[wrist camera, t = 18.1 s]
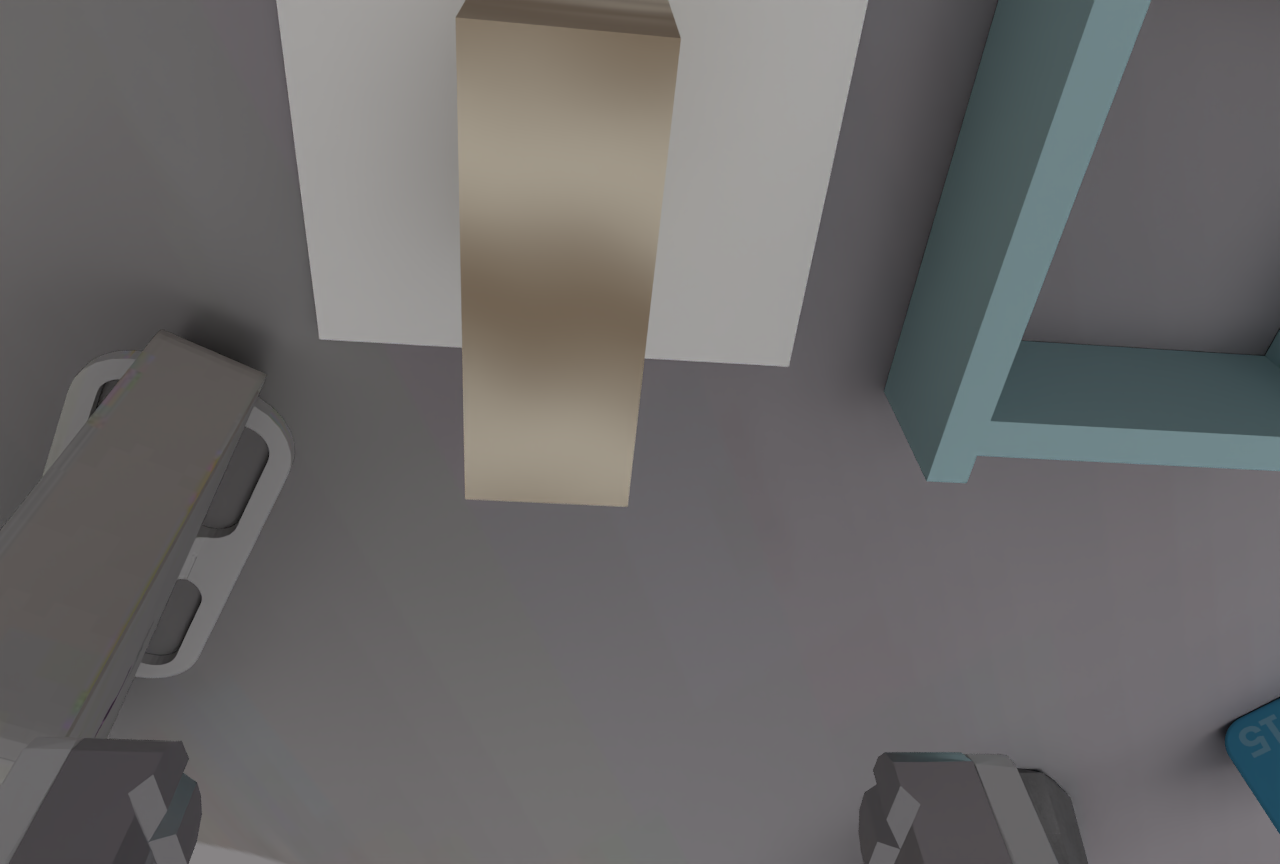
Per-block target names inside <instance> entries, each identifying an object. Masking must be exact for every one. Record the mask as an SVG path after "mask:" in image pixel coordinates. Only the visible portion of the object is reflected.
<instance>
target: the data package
mask: <svg viewBox="0 0 1280 864" xmlns="http://www.w3.org/2000/svg"><path fill="white" fill-rule="evenodd" d="M1225 747H1226V751H1227V753H1228V755H1229V757H1230V758H1231V760H1232V761H1233V763H1234V765H1235V766H1236V768H1237V769H1238V771H1239V772H1240V774H1241V775H1242V777H1243V778H1244V780H1245V781H1246V783H1247V785H1248V786H1249V788H1250V789H1251V791H1252V792H1253V794H1254V795H1255V797H1256V798H1257V800H1258V801H1259V803H1260V805H1261V806H1262V808H1263V809H1264V811H1265V812H1266V814H1267V815H1268V817H1269V818H1270V820H1271V821H1272V823H1273V825H1274V826H1275V828H1276V829H1277V831H1278V832H1279V834H1280V698H1279V699H1277V700H1275V701H1273V702H1271V703H1269V704H1267V705H1265V706H1263V707H1261V708H1259V709H1257V710H1255V711H1253V712H1251V713H1249V714H1247V715H1245V716H1243V717H1241V718H1239V719H1237V720H1236V721H1235V722H1233V723H1232V724H1231V726H1230V727H1229V729H1228V730H1227V733H1226V737H1225Z"/></svg>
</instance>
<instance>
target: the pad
mask: <svg viewBox="0 0 1280 864" xmlns="http://www.w3.org/2000/svg"><path fill="white" fill-rule="evenodd" d="M668 1H669V4H670V7H671V10H672V13H673V16H674V19H675V22H676V25H677V28H678V31H679V34H680V37H681V43H680V51H679V60H678V69H677V78H676V87H675V95H674V104H673V113H672V122H671V130H670V139H669V148H668V157H667V166H666V174H665V183H664V192H663V201H662V209H661V218H660V227H659V236H658V244H657V253H656V262H655V271H654V280H653V288H652V297H651V306H650V315H649V323H648V332H647V341H646V350H645V358H647V359H664V360H682V361H699V362H716V363H733V364H750V365H767V366H784V367H789V363H790V358H791V354H792V349H793V345H794V340H795V335H796V331H797V326H798V322H799V317H800V312H801V308H802V303H803V299H804V294H805V289H806V285H807V280H808V276H809V271H810V266H811V262H812V257H813V252H814V248H815V243H816V239H817V234H818V229H819V225H820V220H821V216H822V211H823V206H824V202H825V197H826V193H827V188H828V183H829V179H830V174H831V170H832V165H833V160H834V156H835V151H836V147H837V142H838V137H839V133H840V128H841V124H842V119H843V114H844V110H845V105H846V101H847V96H848V91H849V87H850V82H851V78H852V73H853V68H854V64H855V59H856V55H857V50H858V45H859V41H860V36H861V32H862V27H863V22H864V18H865V13H866V9H867V4H868V0H668ZM276 2H277V10H278V18H279V26H280V34H281V42H282V49H283V57H284V65H285V73H286V81H287V89H288V96H289V104H290V112H291V120H292V128H293V136H294V144H295V151H296V159H297V167H298V175H299V183H300V191H301V198H302V206H303V214H304V222H305V230H306V238H307V245H308V253H309V261H310V269H311V277H312V285H313V292H314V300H315V308H316V316H317V324H318V332H319V339H322V340H339V341H356V342H373V343H390V344H407V345H424V346H442V347H459V348H462V317H461V267H460V217H459V167H458V118H457V68H456V18H455V17H456V16H457V14H458V12H459V11H460V9H461V7H462V6H463V4H464V2H465V0H276Z"/></svg>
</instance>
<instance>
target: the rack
mask: <svg viewBox="0 0 1280 864" xmlns="http://www.w3.org/2000/svg"><path fill="white" fill-rule="evenodd" d="M1150 2H1151V0H998V4H997V7H996V11H995V14H994V17H993V21H992V24H991V28H990V31H989V34H988V38H987V41H986V45H985V48H984V51H983V55H982V58H981V62H980V65H979V69H978V72H977V75H976V79H975V82H974V86H973V89H972V92H971V96H970V99H969V103H968V106H967V109H966V113H965V116H964V120H963V123H962V127H961V130H960V133H959V137H958V140H957V144H956V147H955V150H954V154H953V157H952V161H951V164H950V167H949V171H948V174H947V178H946V181H945V185H944V188H943V191H942V195H941V198H940V202H939V205H938V208H937V212H936V215H935V219H934V222H933V225H932V229H931V232H930V236H929V239H928V242H927V246H926V249H925V253H924V256H923V260H922V263H921V266H920V270H919V273H918V277H917V280H916V283H915V287H914V290H913V294H912V297H911V300H910V304H909V307H908V311H907V314H906V318H905V321H904V324H903V328H902V331H901V335H900V338H899V341H898V345H897V348H896V352H895V355H894V358H893V362H892V365H891V369H890V372H889V376H888V379H887V382H886V386H885V389H884V392H885V395H886V397H887V399H888V401H889V403H890V405H891V407H892V409H893V411H894V413H895V416H896V418H897V420H898V422H899V424H900V426H901V428H902V430H903V432H904V435H905V437H906V439H907V441H908V443H909V445H910V447H911V449H912V451H913V453H914V456H915V458H916V460H917V462H918V464H919V466H920V468H921V470H922V472H923V475H924V477H925V479H926V481H932V482H953V483H967V481H968V478H969V476H970V473H971V470H972V468H973V465H974V462H975V460H976V457H977V456H991V457H1011V458H1031V459H1051V460H1070V461H1090V462H1110V463H1130V464H1149V465H1169V466H1189V467H1209V468H1228V469H1248V470H1268V471H1280V330H1279V332H1278V333H1277V335H1276V337H1275V339H1274V341H1273V342H1272V344H1271V346H1270V348H1269V349H1268V351H1267V353H1266V355H1265V356H1257V355H1241V354H1225V353H1209V352H1193V351H1177V350H1161V349H1145V348H1129V347H1113V346H1096V345H1080V344H1064V343H1048V342H1032V341H1021V339H1022V337H1023V334H1024V332H1025V329H1026V326H1027V324H1028V321H1029V319H1030V316H1031V313H1032V311H1033V308H1034V305H1035V303H1036V300H1037V298H1038V295H1039V292H1040V290H1041V287H1042V285H1043V282H1044V279H1045V277H1046V274H1047V271H1048V269H1049V266H1050V264H1051V261H1052V258H1053V256H1054V253H1055V250H1056V248H1057V245H1058V243H1059V240H1060V237H1061V235H1062V232H1063V230H1064V227H1065V224H1066V222H1067V219H1068V216H1069V214H1070V211H1071V209H1072V206H1073V203H1074V201H1075V198H1076V196H1077V193H1078V190H1079V188H1080V185H1081V182H1082V180H1083V177H1084V175H1085V172H1086V169H1087V167H1088V164H1089V161H1090V159H1091V156H1092V154H1093V151H1094V148H1095V146H1096V143H1097V141H1098V138H1099V135H1100V133H1101V130H1102V127H1103V125H1104V122H1105V120H1106V117H1107V114H1108V112H1109V109H1110V107H1111V104H1112V101H1113V99H1114V96H1115V93H1116V91H1117V88H1118V86H1119V83H1120V80H1121V78H1122V75H1123V72H1124V70H1125V67H1126V65H1127V62H1128V59H1129V57H1130V54H1131V52H1132V49H1133V46H1134V44H1135V41H1136V38H1137V36H1138V33H1139V31H1140V28H1141V25H1142V23H1143V20H1144V18H1145V15H1146V12H1147V10H1148V7H1149V4H1150Z"/></svg>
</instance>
